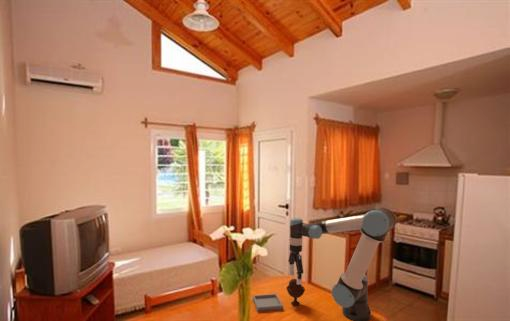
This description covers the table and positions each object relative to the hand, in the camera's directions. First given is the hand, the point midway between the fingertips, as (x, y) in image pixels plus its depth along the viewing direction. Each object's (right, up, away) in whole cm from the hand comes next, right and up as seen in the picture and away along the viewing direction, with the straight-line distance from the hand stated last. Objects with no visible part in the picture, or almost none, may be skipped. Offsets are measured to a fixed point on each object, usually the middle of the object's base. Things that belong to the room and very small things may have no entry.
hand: (295, 279), depth 165 cm
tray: (-17, -14, -2) cm, 22 cm away
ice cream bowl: (0, -15, -1) cm, 15 cm away
